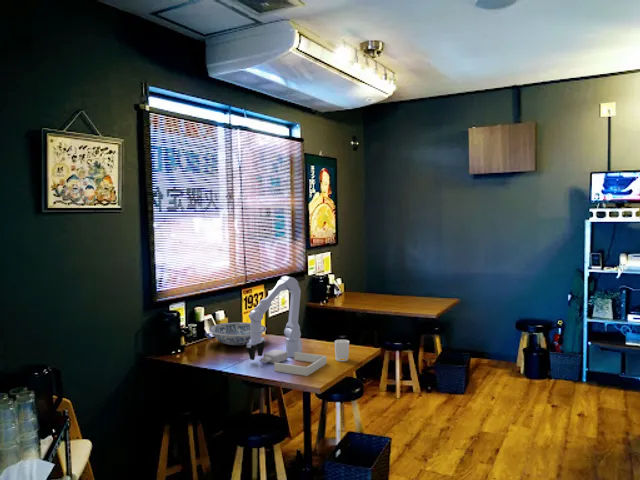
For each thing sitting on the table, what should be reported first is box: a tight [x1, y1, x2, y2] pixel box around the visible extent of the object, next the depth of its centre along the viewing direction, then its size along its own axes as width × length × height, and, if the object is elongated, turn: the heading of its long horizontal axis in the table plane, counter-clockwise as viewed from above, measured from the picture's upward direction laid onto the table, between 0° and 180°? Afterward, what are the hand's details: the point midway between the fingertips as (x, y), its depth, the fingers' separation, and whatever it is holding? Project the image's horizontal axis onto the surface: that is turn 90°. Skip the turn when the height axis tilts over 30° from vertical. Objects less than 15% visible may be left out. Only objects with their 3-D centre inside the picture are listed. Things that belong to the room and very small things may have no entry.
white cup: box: [334, 339, 350, 362], centre depth 260 cm, size 8×8×10 cm
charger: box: [259, 348, 288, 364], centre depth 257 cm, size 5×9×15 cm
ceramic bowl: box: [208, 321, 267, 346], centre depth 294 cm, size 34×34×10 cm
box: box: [273, 352, 328, 377], centre depth 247 cm, size 22×18×4 cm
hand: (256, 357), depth 259 cm, fingers open, 7 cm apart
